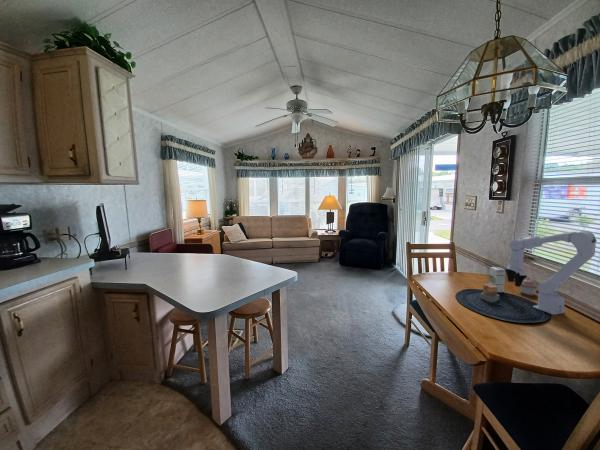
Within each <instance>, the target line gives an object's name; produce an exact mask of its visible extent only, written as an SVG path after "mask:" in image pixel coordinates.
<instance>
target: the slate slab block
mask: <svg viewBox="0 0 600 450" xmlns="http://www.w3.org/2000/svg"><path fill="white" fill-rule="evenodd" d="M480 298H481V300H483V299H484V301H487V302H489V303H491V304H493V303H496V302H499V301H500V294H498V293H497V295H494V296H489V295H487V294H485V293H483V292H480V297H479V299H480ZM498 300H499V301H498Z"/></svg>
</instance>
